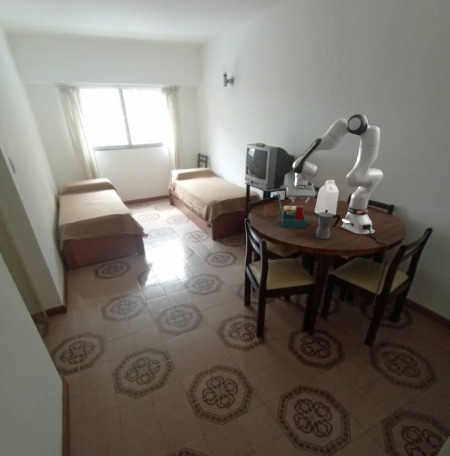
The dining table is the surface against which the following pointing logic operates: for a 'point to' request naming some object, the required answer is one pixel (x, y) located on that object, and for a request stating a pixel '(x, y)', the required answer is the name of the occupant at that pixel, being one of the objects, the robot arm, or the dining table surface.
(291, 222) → the teal open box
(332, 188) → the milk
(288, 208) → the stool
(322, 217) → the coffeepot
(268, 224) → the dining table surface
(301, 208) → the can
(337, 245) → the dining table surface
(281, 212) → the lid
